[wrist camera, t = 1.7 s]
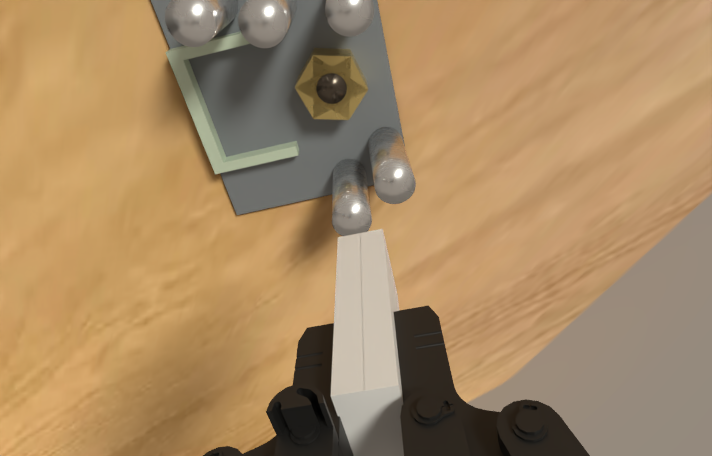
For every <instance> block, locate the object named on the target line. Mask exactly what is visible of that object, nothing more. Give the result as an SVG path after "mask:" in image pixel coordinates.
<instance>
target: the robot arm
mask: <svg viewBox="0 0 712 456" xmlns="http://www.w3.org/2000/svg"><path fill="white" fill-rule="evenodd" d="M266 413H267V415H268V417H269V419H270V421H271V424H272V426H273V428H274V430H275V432H276V434H277V435H276V436H275V437H274V438H273V439H271V440H270V441H268V442H267V443H265V444H263V445H261V446H259V447H257V448H255V449H253V450H250V451H248V452H246V453H244V454H242V453H241V452H240V451H239V450H238V449H236V448H233V447H229V446H226V447H218V448H216V449H214V450H211V451H209V452H207V453H206V454H205V455H203V456H590V455H589V454H588V453H587V451H586V450H585V449H584V447H583V446H582V445H581V443H580V442H579V441H578V440H577V438H576V437H575V436H574V434H573V433H572V432H571V431H570V429H569V428H568V426H567V425H566V424H565V422H564V421H563V420H562V418H561V417H560V416H559V415H558V414H557V413H556V412H555V411H554V410H553V409H552V408H551V407H550V406H547V405H545V404H543V403H541V402H539V401H532V400H521V401H516V402H513V403H511V404H509V405H508V406H506V407H504V408H503V410H502V411H501V412H495V411H487V410H482V409H478V408H475V407H473V406H471V405H469V404H467V403H466V402H465V401H463V400H462V399H461V398H460V397H459V395H458V394H457V393H456V390H455V388H454V384H453V380H452V375H451V371H450V366H449V362H448V357H447V353H446V348H445V344H444V339H443V335H442V330H441V326H440V321H439V317H438V316H437V314H436V313H435V312H434V311H433V310H432V309H431V308H430V307H429V306H424V307H418V308H412V309H406V310H401V311H399V304H398V296H397V290H396V286H395V281H394V277H393V272H392V268H391V264H390V259H389V255H388V250H387V246H386V241H385V237H384V233H383V229H379V230H374V231H369V232H363V233H358V234H353V235H348V236H343V237H338V248H337V269H336V291H335V312H334V323H333V324H327V325H321V326H315V327H310V328H307V329H306V330H305V332H304V334H303V335H302V337H301V338H300V340H299V342H298V349H297V359H296V364H295V372H294V380H293V386H290V387H287V388H285V389H284V390H282V391H281V392H279V393H278V394H277V395H276V396H275V397H274V398H273V399H272V400H271V402H270V403H269V406H268V408H267V411H266Z"/></svg>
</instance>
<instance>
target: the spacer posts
mask: <svg viewBox="0 0 712 456" xmlns="http://www.w3.org/2000/svg"><path fill="white" fill-rule="evenodd" d="M296 9H297V3H296V0H247V1H246V2H245V3H244V4H243V6H242V7H241V9H240V12H239V16H238V24H239V29H240V31H241V33H242V35H243V37H244V38H245V39H246V40H247V41H248V42H249V43H250V44H252V45H254V46H256V47H259V48H271V47H274V46H276V45H277V44H279V43H280V42H281V41H282V40H283V38H284V36H285V34H286V32H287V30H288V28H289V26H290V24H291V22H292V20H293V18H294V16H295V13H296ZM237 12H238V0H171V1H170V3H169V4H168V6H167V8H166V11H165V22H166V26H167V29H168V31H169V32H170V34H171V35H172V37H173V38H174V39H175V40H176V41H178V42H179V43H181V44H183V45H185V46H188V47H200V46H202V45H204V44H206V43H207V42H209V41H210V40H211V39H212V38H213V37H214V36H215V35H217V34H218V33H219V32H220V31H221V30H222V29H223V28H225V27H226V26H227V25H228V24H229V23H230V22H231V21H232V20H233V19H234V18H235V17H236V15H237ZM325 15H326V19H327V21H328V23H329V25H330V27H331V28H332V29H333V30H334V31H335V32H337V33H338V34H340V35H343V36H348V37H352V36H357V35H359V34H361V33H363V32H364V31H365V30H366V29H367V28H368V27H369V26H370V24H371V22H372V20H373V16H374V4H373V1H372V0H326V5H325ZM368 146H369V152H370V159H371V166H372V173H373V179H374V186H375V191H376V194H377V196H378V197H379V198H380V199H381V200H382V201H384V202H386V203H390V204H398V203H402V202H404V201H406V200H407V199H409V198H410V197H411V196H412V194H413V193H414V190H415V185H416V183H415V178H414V175H413V172H412V169H411V166H410V163H409V159H408V156H407V153H406V150H405V147H404V143H403V140H402V137H401V135H400V133H399V132H398V131H397V130H395V129H394V128H391V127H381V128H378V129H377V130H375V131H374V132H373V133H372V134H371V136H370V138H369V142H368ZM371 222H372V219H371V211H370V202H369V194H368V186H367V178H366V170H365V168H364V166H363V165H362V163H360V162H359V161H357V160H355V159H344V160H342V161H340V162H339V163H337V164H336V166H335V167H334V170H333V198H332V224H333V227H334V229H335V230H336V232H337V233H339V234H340V235H342V236H348V235H353V234H358V233H363V232H367V231H368V230H369V228H370V226H371Z"/></svg>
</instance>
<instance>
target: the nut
mask: <svg viewBox="0 0 712 456" xmlns="http://www.w3.org/2000/svg"><path fill="white" fill-rule="evenodd" d="M295 89H296V91H297V92H298V94H299V96H300V97H301V99H302V101H303V102H304V104H305V106H306V107H307V109H308V111H309V112H310V114H311V116H312V118H313V119H331V120H349V119H350V118H351V116H352V115H353V113H354V111H355V110H356V108H357V107H358V105H359V104H360V102H361V100H362V99H363V97H364V96H365V94H366V93H367V91H368V86H367V81H366V79H365V77H364V75H363V73H362V71H361V69H360V67H359V65H358V63H357V61H356V59H355V57H354V55H353V54H352V52H351V50H350V49H332V48H314V50H313V51H312V53H311V55H310V57H309V58H308V60H307V62H306V64H305V66H304V67H303V69H302V71H301V73H300V74H299V76H298V78H297V81H296V85H295Z"/></svg>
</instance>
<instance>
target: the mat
mask: <svg viewBox="0 0 712 456" xmlns="http://www.w3.org/2000/svg"><path fill="white" fill-rule="evenodd" d="M170 1H171V0H151V2H152V5H153V7H154V10H155V12H156V15H157V17H158V20H159V22H160V25H161V27H162V30H163V32H164V35H165V37H166V39H167V42H168V44H169V47H170V49H173V48H177V47H180V46H184V45H183V44H181V43H179V42H178V41H176V40H175V39H174V38H173V37H172V35H171V34H170V32H169V31H168V29H167V26H166V22H165V11H166V8H167V6H168V4H169V3H170ZM246 1H247V0H238V12H237V15H236V17H235V18H234V19H233V20H232V21H231V22H230V23H229V24H228V25H227V26H226V27H225V28H223V29H222V30H221V31H220V32H219V33H218V34H217V35H215V36H214V37H213V38H216V37H220V36H224V35H228V34H232V33H236V32H240V29H239V24H238V16H239V12H240V9H241V7H242V6H243V4H244V3H245V2H246ZM372 1H373V4H374V16H373V20H372V22H371V24H370V26H369V27H368V28H367V29H366V30H365V31H364V32H363V33H361V34H359V35H357V36H352V37H348V36H343V35H340V34H338V33H337V32H335V31H334V30H333V29H332V28H331V27H330V25H329V23H328V21H327V19H326V15H325V5H326V0H296V3H297V9H296V13H295V16H294V18H293V20H292V22H291V24H290V26H289V28H288V30H287V32H286V34H285V36H284V38H283V40H282V41H281V42H280V43H279V44H277V45H276V46H274V47H271V48H259V47H256V46H254V45H252V44H247V45H243V46H239V47H235V48H231V49H227V50H223V51H219V52H215V53H211V54H207V55H203V56H199V57H195V58H191V59H188V60H189V62H190V65H191V67H192V70H193V72H194V75H195V78H196V80H197V83H198V85H199V88H200V90H201V93H202V96H203V98H204V101H205V103H206V106H207V109H208V111H209V114H210V116H211V119H212V121H213V124H214V127H215V129H216V132H217V134H218V137H219V140H220V142H221V145H222V147H223V150H224V152H225V155H226V157H228V156H233V155H237V154H241V153H246V152H250V151H254V150H259V149H263V148H267V147H272V146H276V145H280V144H285V143H289V142H293V141H297V144H298V147H299V155H298V156H294V157H289V158H285V159H280V160H276V161H272V162H267V163H263V164H258V165H254V166H250V167H245V168H241V169H236V170H232V171H228V172H223V173H220V174H221V177H222V179H223V182H224V184H225V187H226V189H227V192H228V194H229V197H230V199H231V202H232V204H233V206H234V209H235V211H236V214H237V215H240V214H245V213H249V212H254V211H258V210H263V209H267V208H272V207H276V206H281V205H286V204H290V203H295V202H299V201H304V200H308V199H313V198H317V197H322V196H327V195H331V194H333V170H334V167H335V166H336V164H337V163H339V162H340V161H342V160H344V159H355V160H357V161H359V162H360V163H362V165H363V166H364V168H365V170H366V178H367V186H372V185H374V179H373V173H372V166H371V159H370V152H369V146H368V142H369V138H370V136H371V134H372V133H373V132H374V131H375V130H377V129H378V128H381V127H391V128H394V129H395V130H397V131H398V132H399V133H400V135H401V137H402V140H403V135H402V129H401V124H400V119H399V113H398V108H397V103H396V98H395V92H394V87H393V82H392V76H391V71H390V66H389V61H388V55H387V50H386V45H385V39H384V34H383V29H382V24H381V18H380V13H379V8H378V2H377V0H372ZM314 48H332V49H350V50H351V52H352V54H353V55H354V57H355V59H356V61H357V63H358V65H359V67H360V69H361V71H362V73H363V75H364V77H365V79H366V81H367V86H368V91H367V93H366V94H365V96H364V97H363V99H362V100H361V102H360V104H359V105H358V107H357V108H356V110H355V111H354V113H353V115H352V116H351V118H350V119H349V120H331V119H313V118H312V116H311V114H310V112H309V111H308V109H307V107H306V106H305V104H304V102H303V101H302V99H301V97H300V96H299V94H298V92H297V91H296V89H295V85H296V81H297V78H298V76H299V74H300V73H301V71H302V69H303V67H304V66H305V64H306V62H307V60H308V58H309V57H310V55H311V53H312V51H313V50H314ZM403 143H404V140H403ZM404 147H405V145H404Z"/></svg>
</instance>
